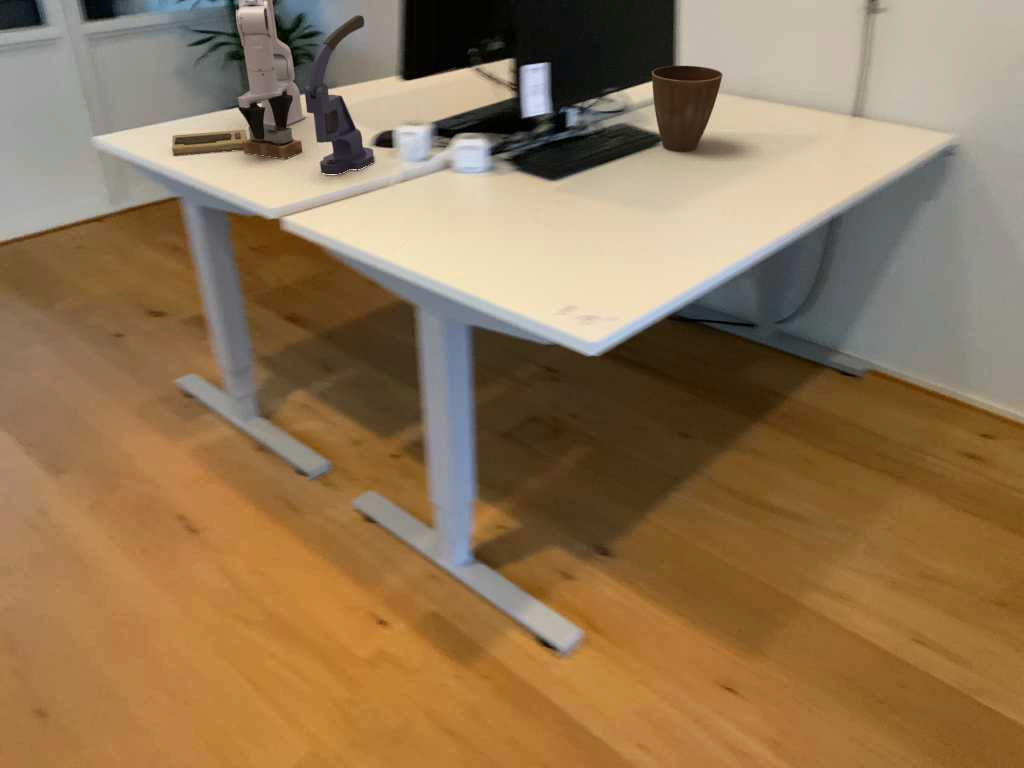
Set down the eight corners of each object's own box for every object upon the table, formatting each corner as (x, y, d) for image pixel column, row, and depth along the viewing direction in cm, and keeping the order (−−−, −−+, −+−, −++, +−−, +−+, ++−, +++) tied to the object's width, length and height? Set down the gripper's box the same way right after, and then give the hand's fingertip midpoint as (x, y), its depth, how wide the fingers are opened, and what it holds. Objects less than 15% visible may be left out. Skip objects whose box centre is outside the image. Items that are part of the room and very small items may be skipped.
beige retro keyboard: (174, 158, 184) (170, 142, 182) (174, 147, 191) (171, 132, 189) (249, 152, 188) (246, 137, 186) (247, 142, 195) (245, 127, 193)
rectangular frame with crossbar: (261, 145, 190) (260, 134, 189) (302, 152, 187) (300, 140, 185) (244, 153, 186) (242, 141, 184) (285, 159, 182) (283, 148, 181)
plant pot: (698, 161, 182) (708, 83, 174) (634, 150, 189) (640, 75, 180) (722, 143, 193) (732, 70, 185) (661, 134, 200) (667, 62, 191)
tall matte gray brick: (261, 148, 189) (257, 123, 186) (294, 153, 186) (291, 128, 183) (252, 152, 187) (248, 126, 184) (286, 157, 183) (282, 131, 180)
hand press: (340, 180, 171) (324, 31, 156) (304, 174, 174) (285, 27, 159) (389, 155, 185) (379, 16, 170) (356, 149, 188) (343, 13, 173)
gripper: (254, 77, 170) (264, 145, 177) (298, 63, 181) (306, 127, 188) (225, 74, 172) (237, 141, 180) (271, 60, 184) (280, 124, 191)
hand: (270, 134), depth 184 cm, fingers open, 7 cm apart
